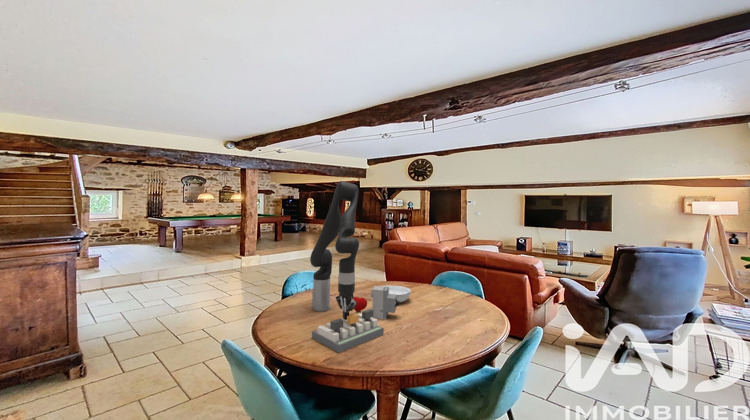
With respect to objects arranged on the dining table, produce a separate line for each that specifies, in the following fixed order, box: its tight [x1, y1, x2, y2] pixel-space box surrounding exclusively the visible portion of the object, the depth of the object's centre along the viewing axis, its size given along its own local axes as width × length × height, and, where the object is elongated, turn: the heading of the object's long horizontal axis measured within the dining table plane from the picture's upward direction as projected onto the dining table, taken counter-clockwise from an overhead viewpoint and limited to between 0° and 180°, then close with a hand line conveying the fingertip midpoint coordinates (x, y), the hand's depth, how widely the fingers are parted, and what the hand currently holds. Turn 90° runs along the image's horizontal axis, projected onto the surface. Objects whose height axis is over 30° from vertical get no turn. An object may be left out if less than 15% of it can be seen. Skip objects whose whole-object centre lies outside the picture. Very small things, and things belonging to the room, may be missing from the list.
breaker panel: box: [311, 308, 385, 354], centre depth 146 cm, size 19×26×10 cm
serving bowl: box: [384, 285, 412, 303], centre depth 198 cm, size 21×21×7 cm
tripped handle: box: [347, 312, 359, 331], centre depth 144 cm, size 2×5×7 cm, turn 135°
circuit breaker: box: [370, 285, 400, 320], centre depth 171 cm, size 8×14×15 cm, turn 78°
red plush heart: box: [353, 296, 368, 314], centre depth 171 cm, size 9×7×10 cm
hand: (345, 319), depth 147 cm, fingers closed
